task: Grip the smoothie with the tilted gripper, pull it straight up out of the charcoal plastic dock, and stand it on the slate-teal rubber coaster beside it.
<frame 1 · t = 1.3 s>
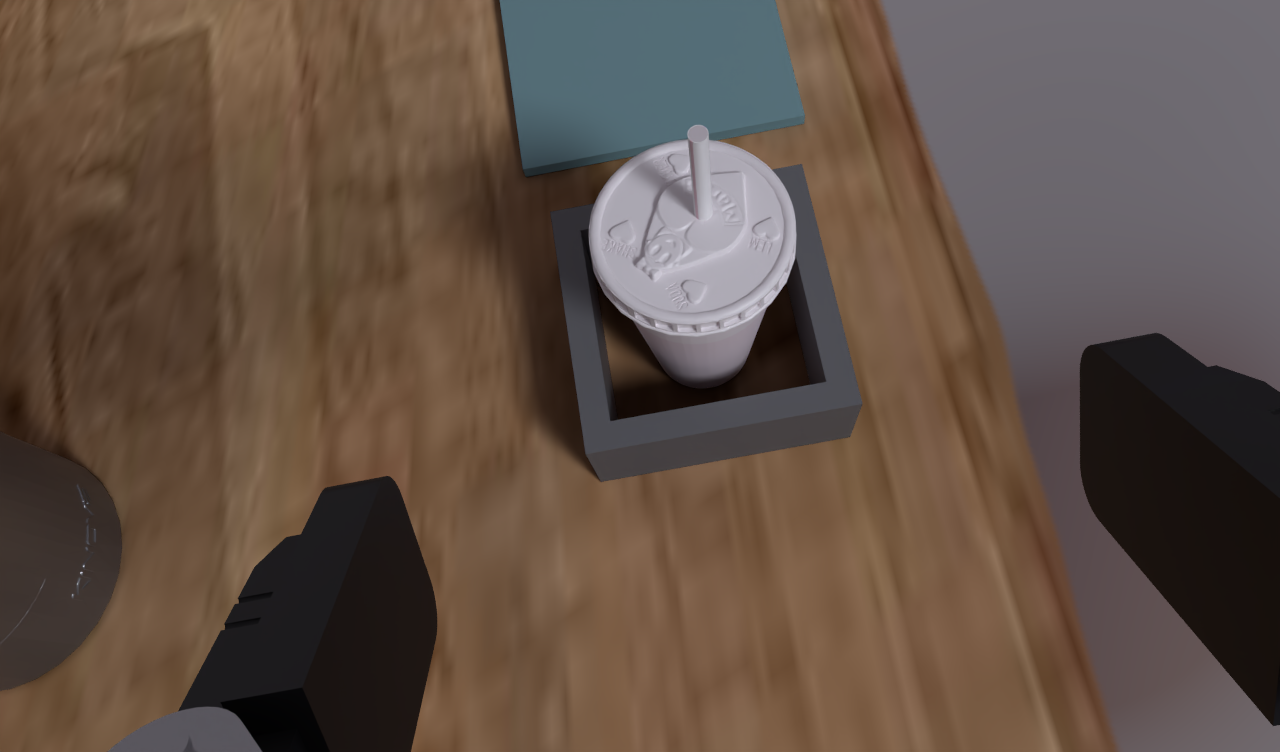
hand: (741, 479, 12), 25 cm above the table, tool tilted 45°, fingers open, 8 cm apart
smoothie: (702, 346, 39), resting in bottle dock
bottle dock: (702, 344, 39), on the table
coaster: (641, 36, 44), on the table
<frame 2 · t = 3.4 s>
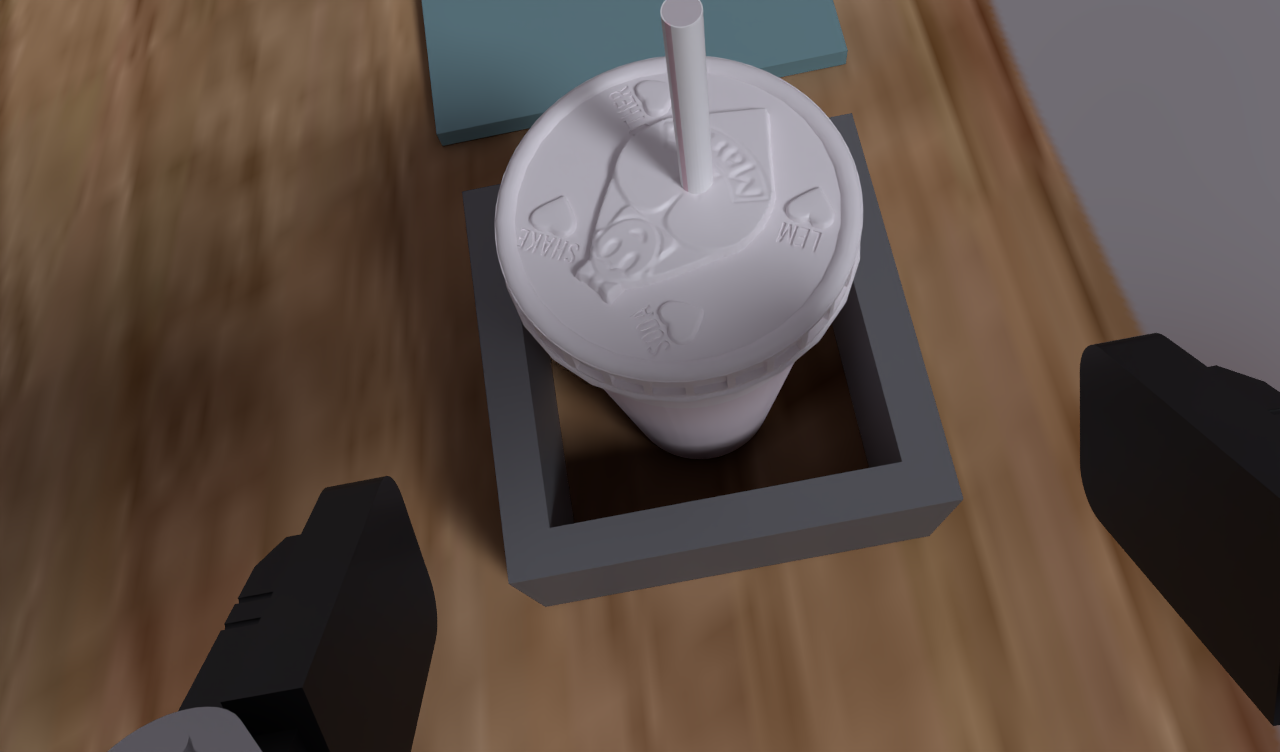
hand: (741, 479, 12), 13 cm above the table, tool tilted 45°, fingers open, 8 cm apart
smoothie: (700, 393, 26), resting in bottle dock
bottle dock: (699, 390, 26), on the table
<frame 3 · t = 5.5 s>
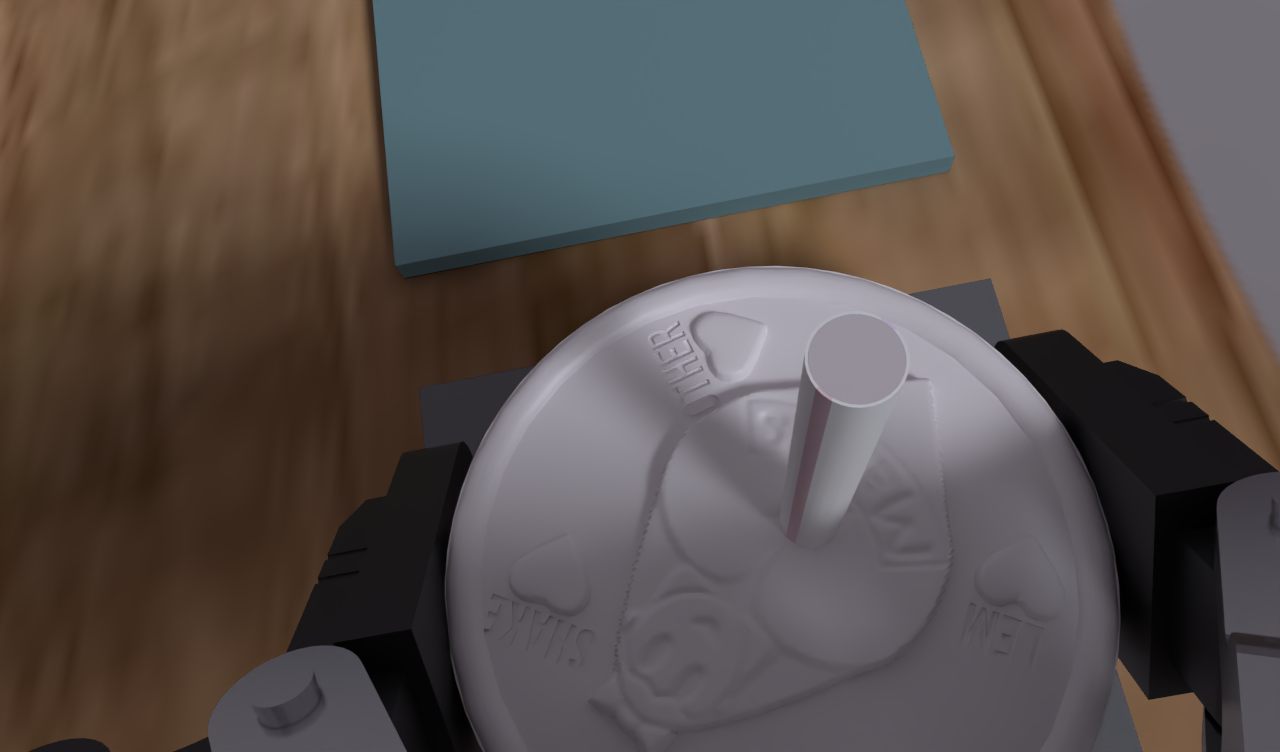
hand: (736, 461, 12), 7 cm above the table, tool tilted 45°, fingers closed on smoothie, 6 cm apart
smoothie: (757, 649, 18), resting in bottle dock, touching gripper
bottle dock: (758, 649, 18), on the table
coaster: (629, 5, 24), on the table
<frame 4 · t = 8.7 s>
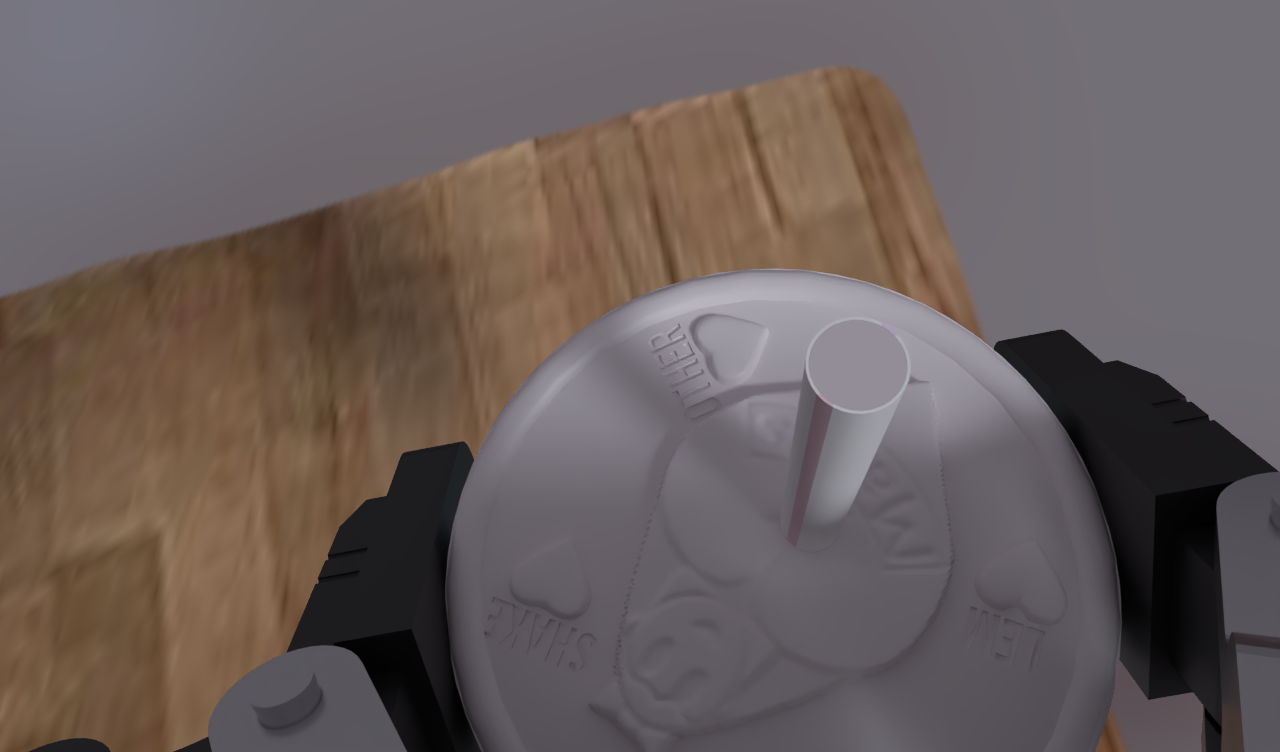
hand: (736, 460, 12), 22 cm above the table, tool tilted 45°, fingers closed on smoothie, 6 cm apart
smoothie: (758, 651, 18), point 14 cm above the table, touching gripper
when the fingers open (9 cm above the table, at t = 12.0 s): smoothie drops 1 cm, resting on coaster.
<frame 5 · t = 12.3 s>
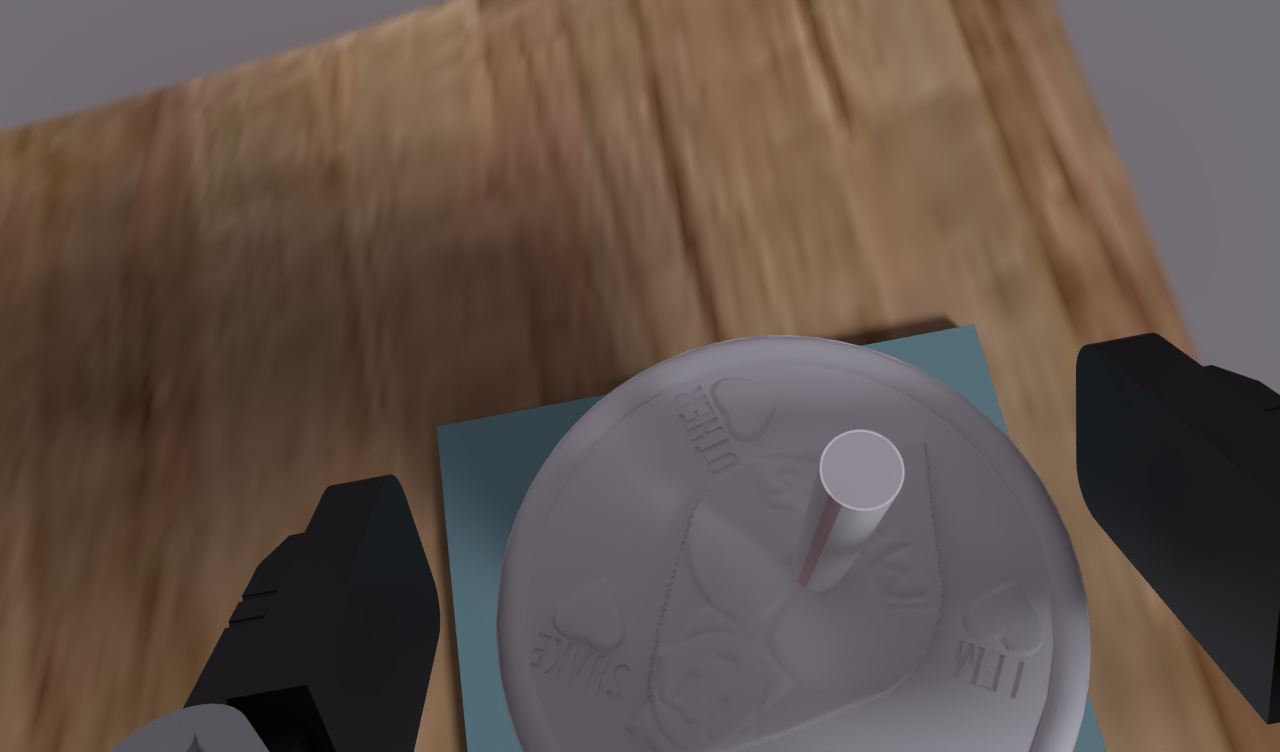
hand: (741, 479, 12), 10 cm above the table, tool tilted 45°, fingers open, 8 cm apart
smoothie: (765, 662, 20), resting on coaster
coaster: (757, 657, 20), on the table
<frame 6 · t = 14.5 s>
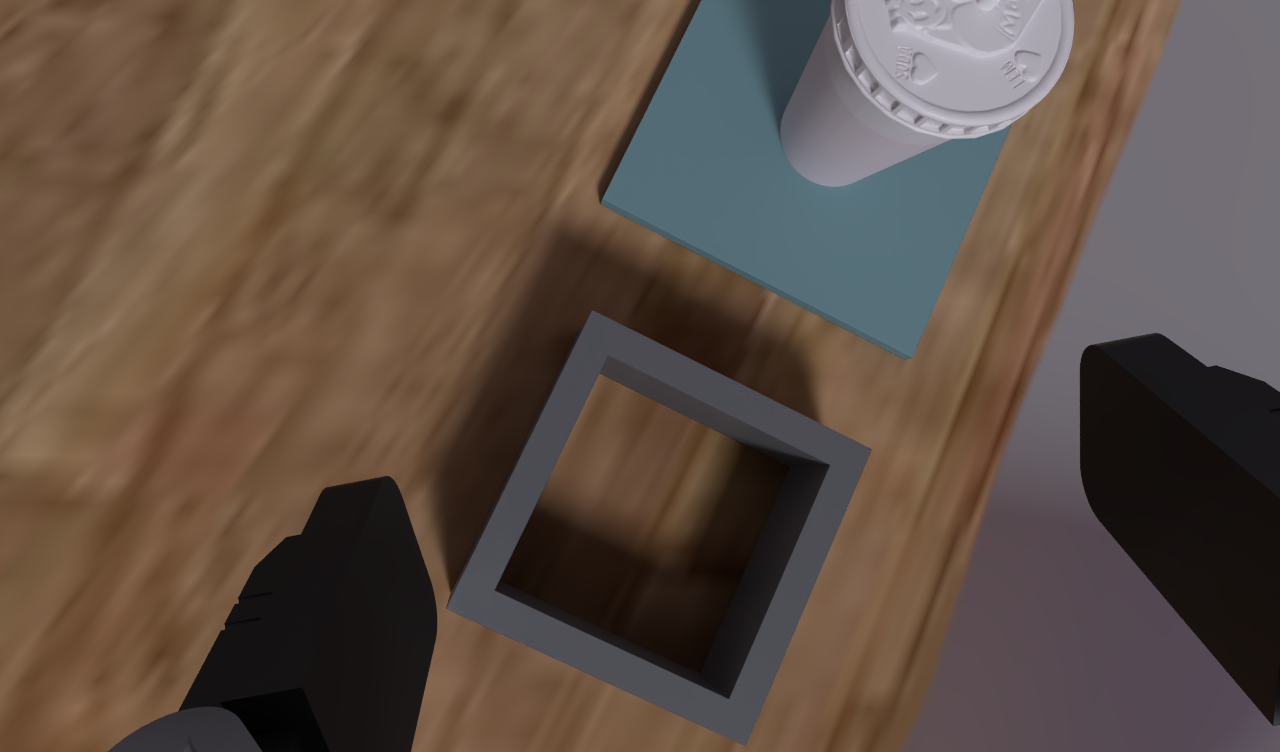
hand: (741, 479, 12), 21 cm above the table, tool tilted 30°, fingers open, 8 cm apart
smoothie: (828, 137, 35), resting on coaster
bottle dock: (645, 520, 33), on the table
coaster: (823, 135, 35), on the table
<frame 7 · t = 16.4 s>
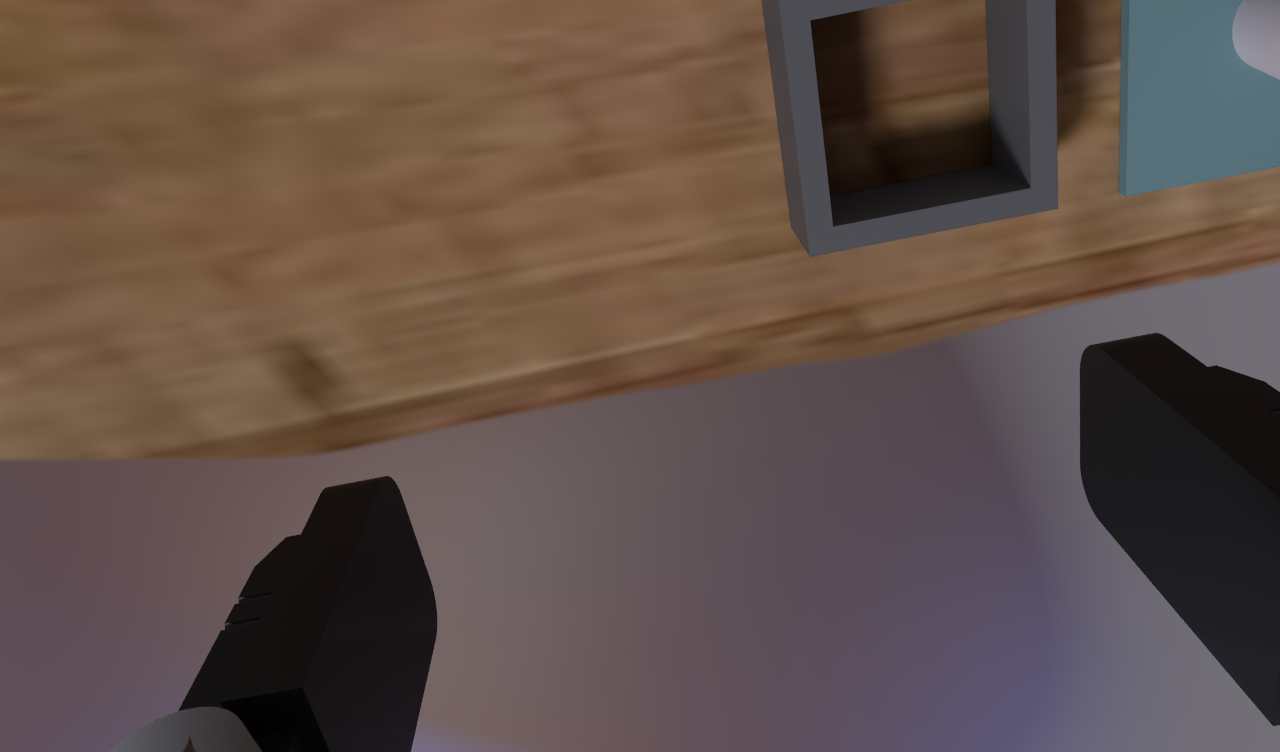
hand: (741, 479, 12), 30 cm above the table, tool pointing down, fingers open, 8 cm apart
smoothie: (1276, 19, 38), resting on coaster
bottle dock: (894, 90, 39), on the table
coaster: (1274, 14, 39), on the table
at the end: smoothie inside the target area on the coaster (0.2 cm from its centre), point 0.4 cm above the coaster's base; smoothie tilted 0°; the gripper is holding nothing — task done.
